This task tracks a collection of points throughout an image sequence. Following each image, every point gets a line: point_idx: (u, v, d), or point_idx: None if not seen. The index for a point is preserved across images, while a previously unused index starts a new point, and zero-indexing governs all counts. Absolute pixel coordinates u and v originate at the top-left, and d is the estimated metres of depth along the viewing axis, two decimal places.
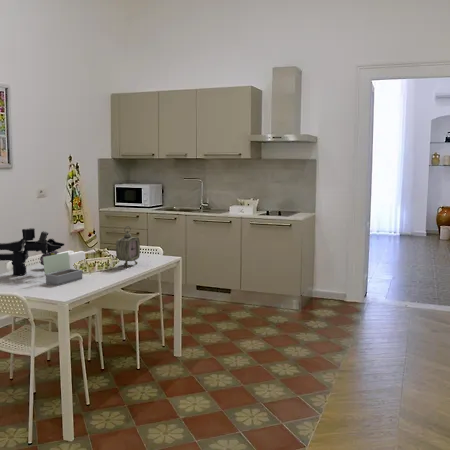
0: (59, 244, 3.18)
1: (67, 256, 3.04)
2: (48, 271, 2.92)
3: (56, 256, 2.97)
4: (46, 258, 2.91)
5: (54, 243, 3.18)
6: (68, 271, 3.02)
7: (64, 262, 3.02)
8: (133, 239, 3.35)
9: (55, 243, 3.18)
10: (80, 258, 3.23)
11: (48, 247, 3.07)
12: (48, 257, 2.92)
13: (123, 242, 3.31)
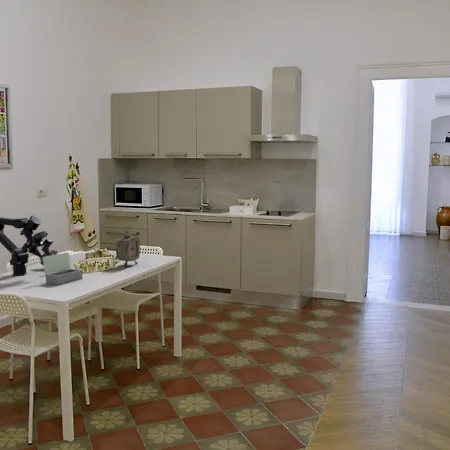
0: (46, 251, 3.04)
1: (67, 256, 3.04)
2: (48, 271, 2.92)
3: (56, 256, 2.97)
4: (46, 258, 2.91)
5: (45, 247, 3.05)
6: (68, 271, 3.02)
7: (64, 262, 3.02)
8: (133, 239, 3.35)
9: (45, 248, 3.05)
10: (80, 258, 3.23)
11: (32, 249, 2.98)
12: (48, 257, 2.92)
13: (123, 242, 3.31)
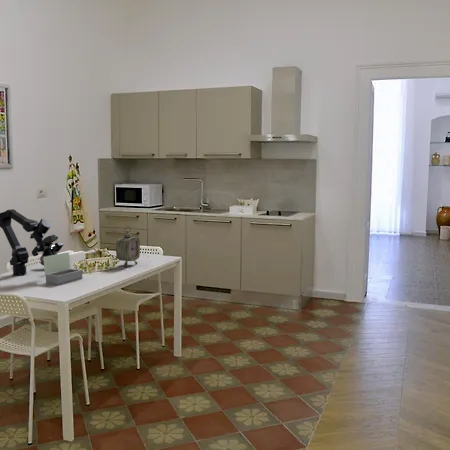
0: None
1: (67, 256, 3.04)
2: (48, 271, 2.92)
3: (56, 256, 2.97)
4: (46, 258, 2.91)
5: (51, 251, 2.99)
6: (68, 271, 3.02)
7: (64, 262, 3.02)
8: (133, 239, 3.35)
9: (52, 252, 2.99)
10: (80, 258, 3.23)
11: (46, 252, 2.97)
12: (48, 257, 2.92)
13: (123, 242, 3.31)
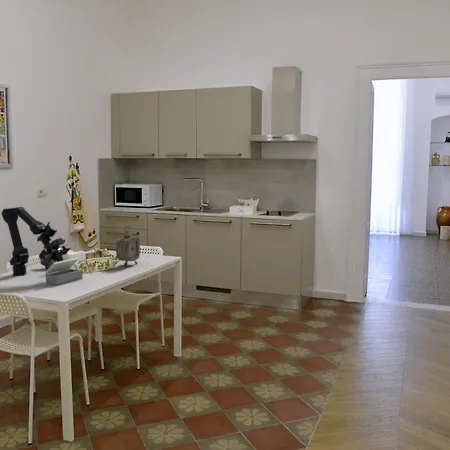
0: None
1: (75, 261, 3.01)
2: (49, 272, 2.91)
3: (65, 262, 2.94)
4: (55, 264, 2.88)
5: (58, 254, 2.97)
6: (68, 271, 3.02)
7: (68, 265, 3.00)
8: (133, 239, 3.35)
9: (59, 255, 2.96)
10: (80, 258, 3.23)
11: (53, 255, 2.94)
12: (58, 263, 2.89)
13: (123, 242, 3.31)
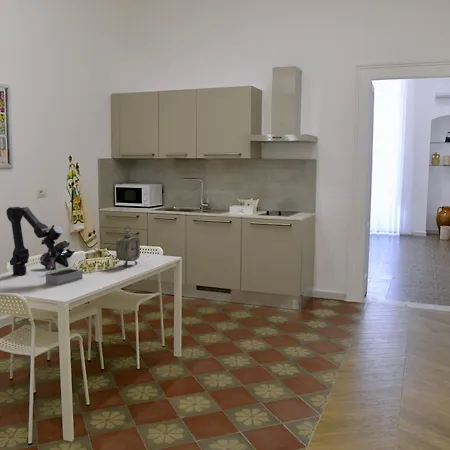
0: None
1: None
2: None
3: (68, 268, 2.93)
4: (58, 270, 2.87)
5: (63, 257, 2.95)
6: (68, 271, 3.02)
7: None
8: (133, 239, 3.35)
9: (63, 258, 2.95)
10: (80, 258, 3.23)
11: (57, 258, 2.93)
12: (60, 270, 2.88)
13: (123, 242, 3.31)
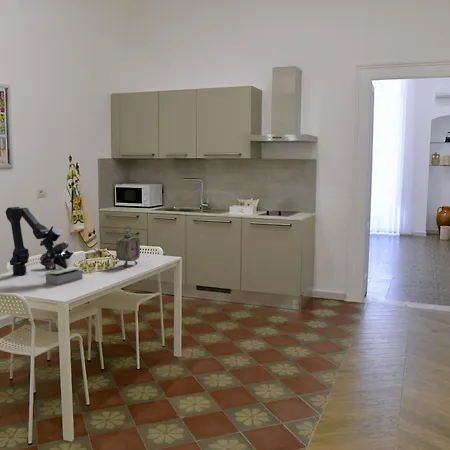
0: None
1: None
2: None
3: (68, 270, 2.93)
4: None
5: None
6: (68, 271, 3.02)
7: None
8: (133, 239, 3.35)
9: (62, 260, 2.96)
10: (80, 258, 3.23)
11: (56, 259, 2.94)
12: (61, 272, 2.88)
13: (123, 242, 3.31)
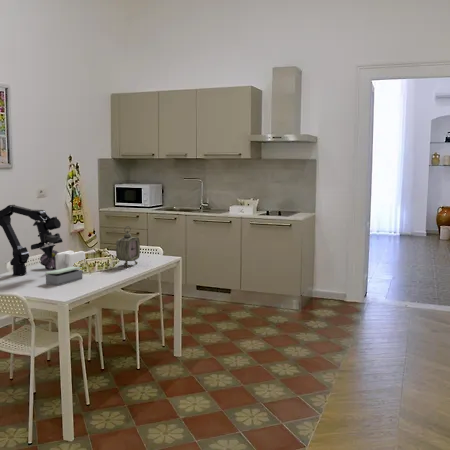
0: None
1: None
2: None
3: (68, 270, 2.93)
4: None
5: (49, 248, 3.07)
6: (68, 271, 3.02)
7: None
8: (133, 239, 3.35)
9: (49, 249, 3.07)
10: (80, 258, 3.23)
11: (44, 248, 3.04)
12: (61, 272, 2.88)
13: (123, 242, 3.31)
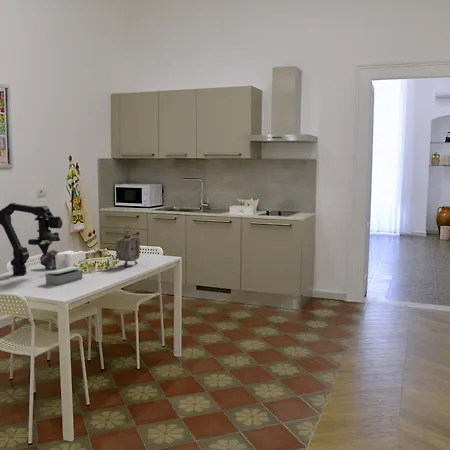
0: None
1: None
2: None
3: (68, 270, 2.93)
4: None
5: (46, 245, 3.09)
6: (68, 271, 3.02)
7: None
8: (133, 239, 3.35)
9: (46, 246, 3.09)
10: (80, 258, 3.23)
11: (41, 244, 3.07)
12: (61, 272, 2.88)
13: (123, 242, 3.31)
